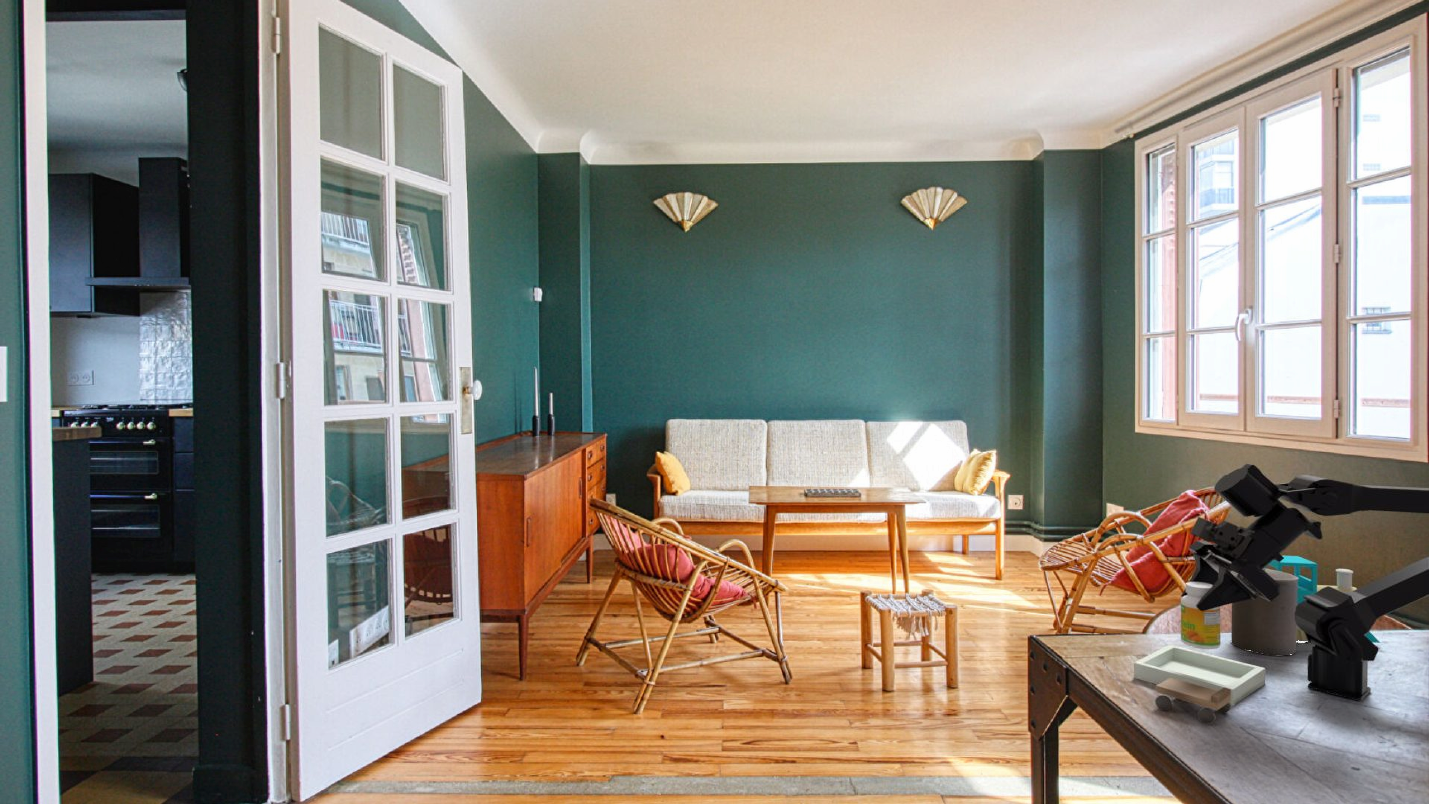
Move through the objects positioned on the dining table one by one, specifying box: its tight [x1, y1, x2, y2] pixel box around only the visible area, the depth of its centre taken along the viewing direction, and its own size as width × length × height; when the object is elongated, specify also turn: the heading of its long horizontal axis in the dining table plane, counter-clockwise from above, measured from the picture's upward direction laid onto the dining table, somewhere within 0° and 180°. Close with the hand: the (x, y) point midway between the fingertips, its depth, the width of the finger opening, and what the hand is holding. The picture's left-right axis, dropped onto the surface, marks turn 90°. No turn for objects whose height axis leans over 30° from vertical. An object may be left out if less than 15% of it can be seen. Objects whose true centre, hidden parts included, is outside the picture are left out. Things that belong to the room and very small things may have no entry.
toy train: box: [1265, 555, 1381, 644], centre depth 142 cm, size 8×17×15 cm, turn 78°
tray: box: [1133, 644, 1266, 707], centre depth 121 cm, size 14×14×2 cm
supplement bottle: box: [1180, 581, 1221, 650], centre depth 121 cm, size 5×5×10 cm
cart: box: [1154, 678, 1232, 725], centre depth 110 cm, size 8×7×4 cm
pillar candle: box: [1230, 568, 1299, 656], centre depth 137 cm, size 10×10×15 cm
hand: (1190, 603), depth 121 cm, fingers closed on supplement bottle, 5 cm apart
